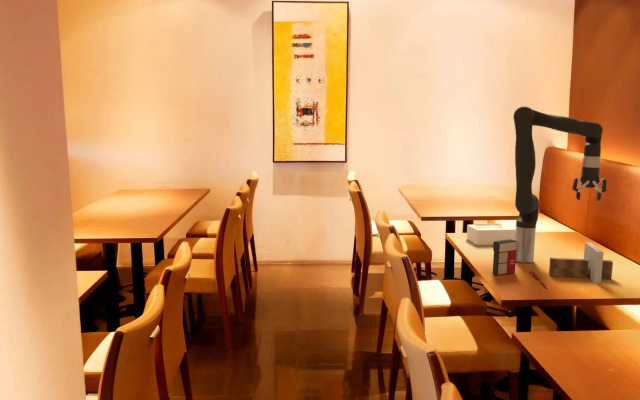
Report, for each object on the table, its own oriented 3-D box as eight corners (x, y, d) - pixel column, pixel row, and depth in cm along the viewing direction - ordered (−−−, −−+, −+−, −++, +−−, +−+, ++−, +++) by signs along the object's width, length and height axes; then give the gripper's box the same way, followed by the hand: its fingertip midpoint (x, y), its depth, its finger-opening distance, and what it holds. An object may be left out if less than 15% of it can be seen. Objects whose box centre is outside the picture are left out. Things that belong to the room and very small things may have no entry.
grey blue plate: (600, 283, 255) (603, 252, 253) (594, 283, 256) (597, 251, 253) (588, 271, 273) (590, 242, 271) (582, 271, 273) (585, 242, 271)
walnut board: (550, 276, 266) (551, 258, 264) (548, 274, 268) (550, 257, 267) (611, 279, 262) (613, 261, 260) (609, 277, 264) (611, 260, 263)
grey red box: (498, 275, 265) (500, 243, 263) (491, 273, 269) (493, 241, 267) (516, 272, 270) (518, 241, 268) (509, 270, 274) (511, 239, 272)
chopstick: (544, 289, 248) (545, 287, 247) (528, 273, 271) (529, 271, 271) (549, 290, 247) (549, 287, 247) (533, 273, 271) (533, 271, 271)
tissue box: (519, 244, 326) (521, 225, 324) (476, 245, 322) (477, 226, 320) (508, 238, 340) (509, 220, 338) (466, 239, 336) (467, 220, 334)
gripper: (577, 166, 271) (574, 201, 274) (610, 167, 269) (606, 202, 272) (572, 164, 278) (570, 198, 281) (604, 165, 276) (601, 199, 279)
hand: (588, 200), depth 276 cm, fingers open, 8 cm apart
